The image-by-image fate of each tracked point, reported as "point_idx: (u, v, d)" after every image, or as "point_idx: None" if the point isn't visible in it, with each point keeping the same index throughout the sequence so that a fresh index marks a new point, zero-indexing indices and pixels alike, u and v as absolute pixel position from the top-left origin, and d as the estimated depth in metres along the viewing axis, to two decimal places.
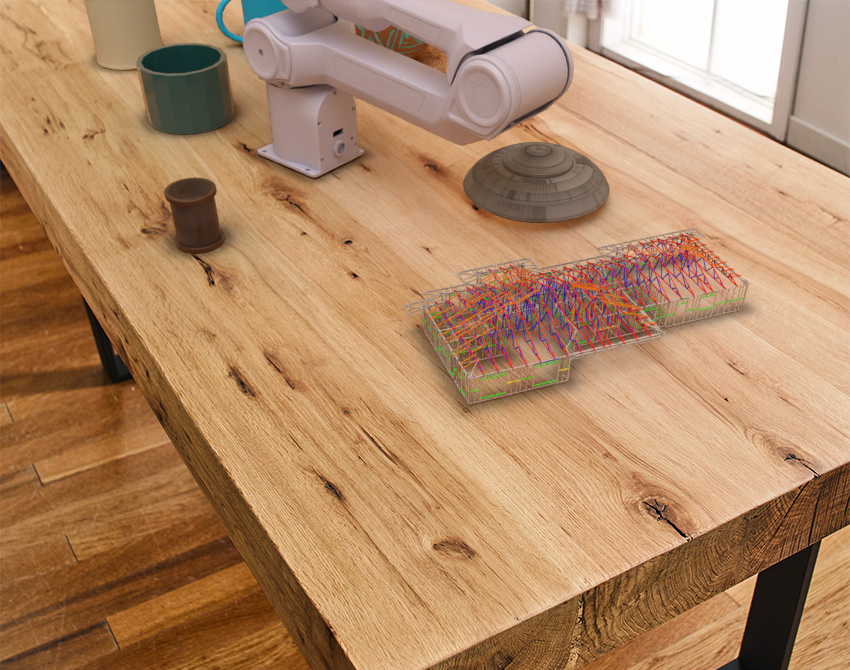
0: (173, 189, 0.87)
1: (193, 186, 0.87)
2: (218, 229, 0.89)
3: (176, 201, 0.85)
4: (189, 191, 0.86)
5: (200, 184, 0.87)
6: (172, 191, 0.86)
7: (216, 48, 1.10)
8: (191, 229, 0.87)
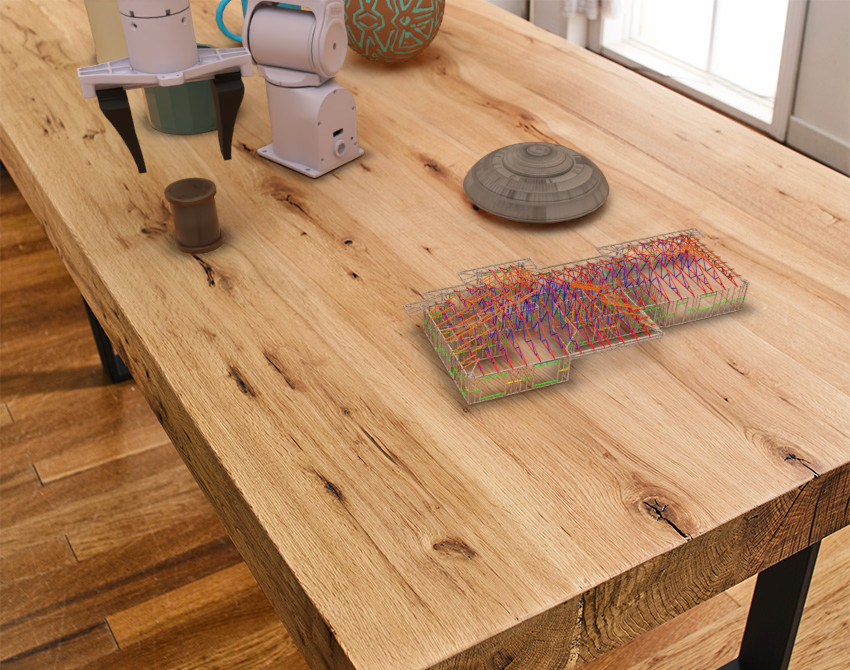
0: (173, 189, 0.87)
1: (193, 186, 0.87)
2: (218, 229, 0.89)
3: (176, 201, 0.85)
4: (189, 191, 0.86)
5: (200, 184, 0.87)
6: (172, 191, 0.86)
7: None
8: (191, 229, 0.87)
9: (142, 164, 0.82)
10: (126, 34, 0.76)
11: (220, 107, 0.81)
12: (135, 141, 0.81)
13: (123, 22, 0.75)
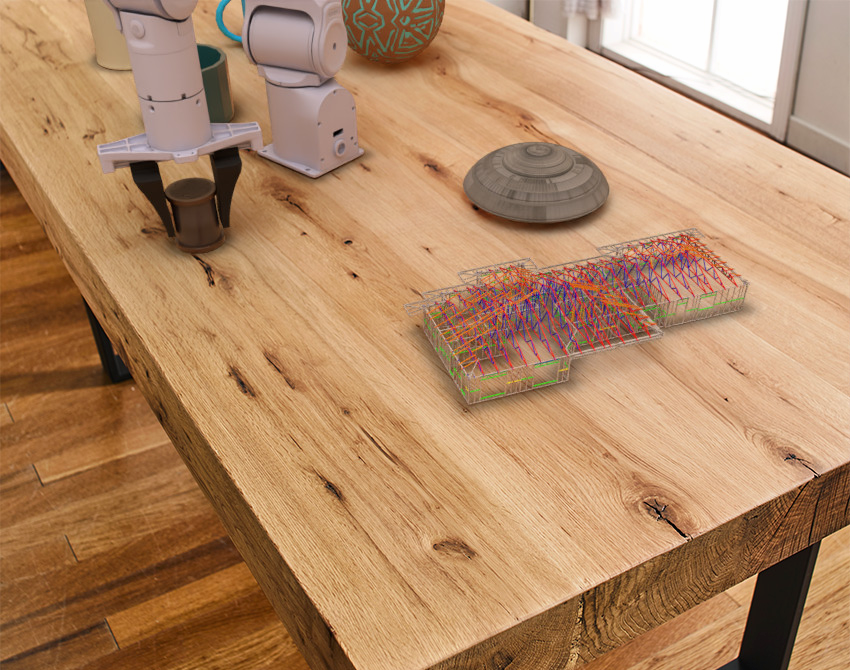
0: (174, 189, 0.87)
1: (193, 186, 0.87)
2: (218, 229, 0.89)
3: (176, 201, 0.85)
4: (189, 191, 0.86)
5: (200, 184, 0.87)
6: (172, 191, 0.86)
7: (216, 48, 1.10)
8: (192, 229, 0.87)
9: (172, 229, 0.87)
10: (144, 115, 0.80)
11: (219, 181, 0.85)
12: (166, 209, 0.86)
13: (141, 104, 0.80)
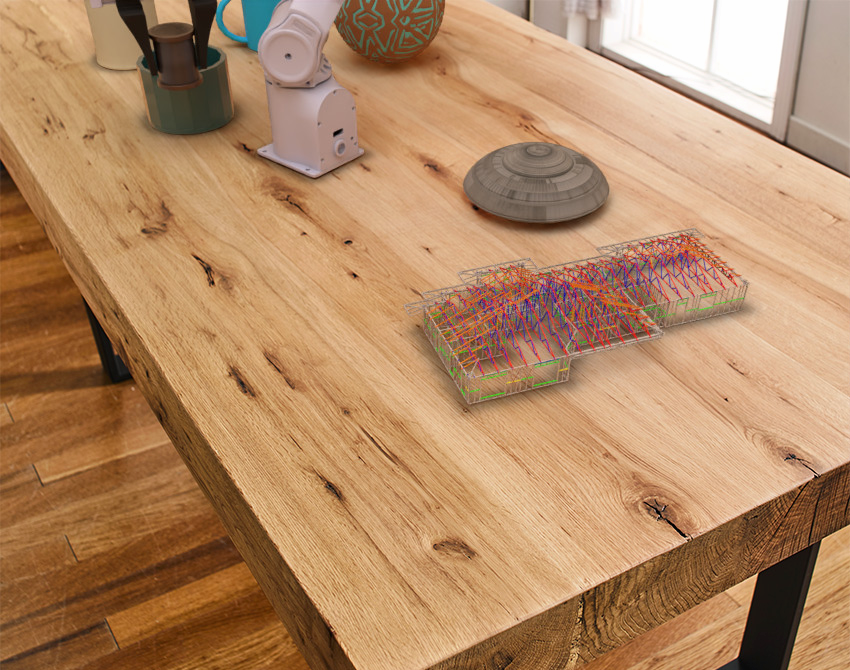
0: (156, 30, 0.96)
1: (173, 27, 0.96)
2: (197, 70, 0.99)
3: (158, 38, 0.94)
4: (170, 31, 0.96)
5: (180, 26, 0.97)
6: (154, 31, 0.96)
7: (216, 48, 1.10)
8: (173, 67, 0.96)
9: (154, 67, 0.97)
10: None
11: (196, 19, 0.94)
12: (149, 46, 0.95)
13: None
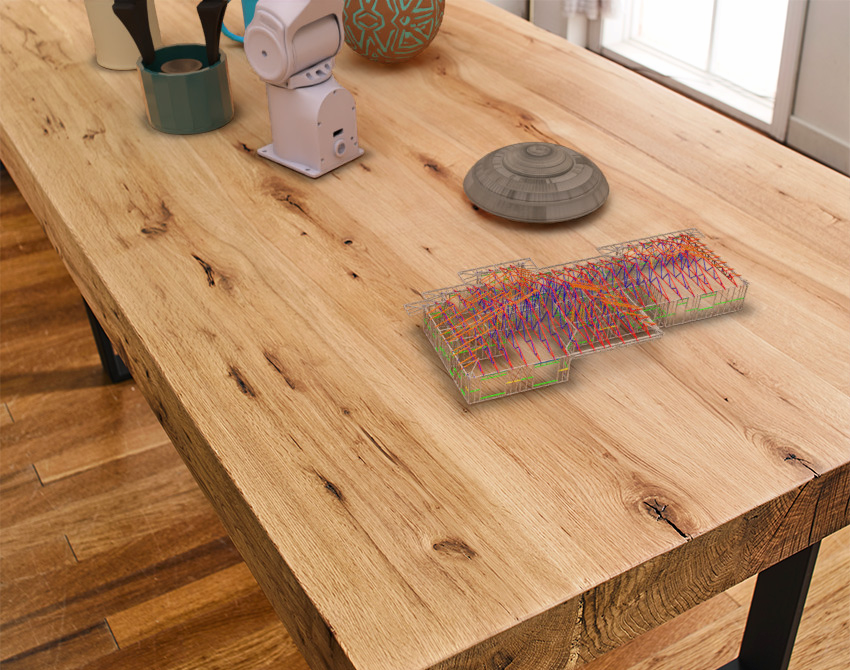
0: (170, 64, 1.09)
1: (185, 64, 1.09)
2: None
3: (164, 72, 1.07)
4: (179, 67, 1.08)
5: (191, 64, 1.09)
6: (168, 65, 1.08)
7: None
8: None
9: (146, 57, 1.07)
10: None
11: (201, 20, 1.02)
12: (139, 37, 1.05)
13: None
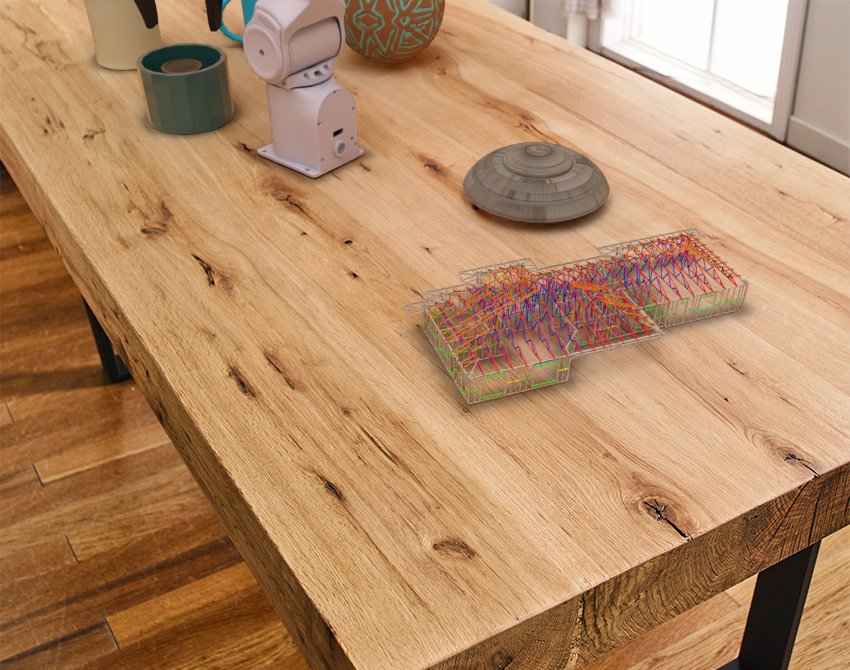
0: (170, 64, 1.09)
1: (185, 64, 1.09)
2: None
3: (164, 72, 1.07)
4: (179, 67, 1.08)
5: (191, 64, 1.09)
6: (167, 65, 1.08)
7: (216, 48, 1.10)
8: None
9: (147, 21, 1.05)
10: None
11: None
12: (140, 0, 1.04)
13: None
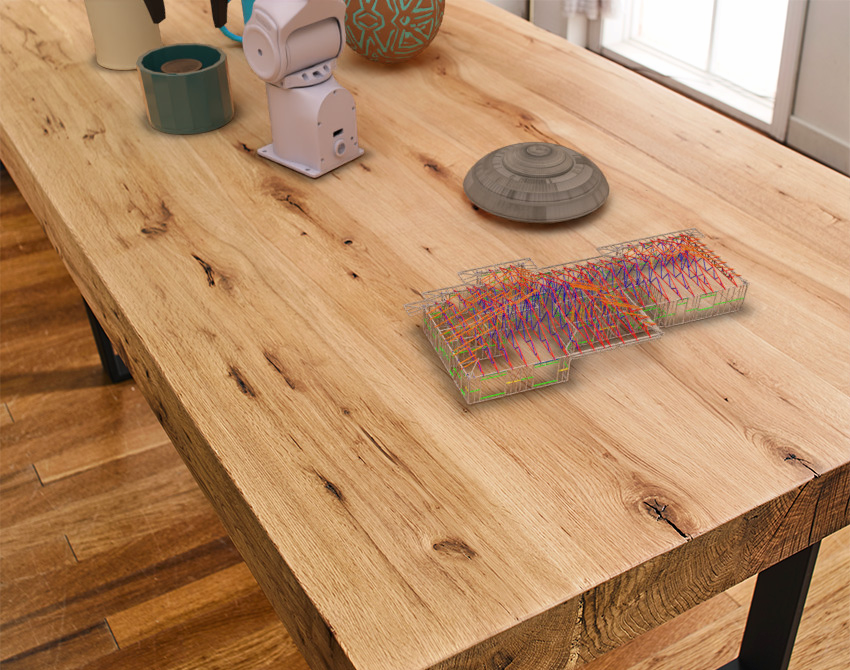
0: (170, 64, 1.09)
1: (185, 64, 1.09)
2: None
3: (164, 72, 1.07)
4: (179, 67, 1.08)
5: (191, 64, 1.09)
6: (167, 65, 1.08)
7: (216, 48, 1.10)
8: None
9: (154, 16, 1.06)
10: None
11: None
12: None
13: None
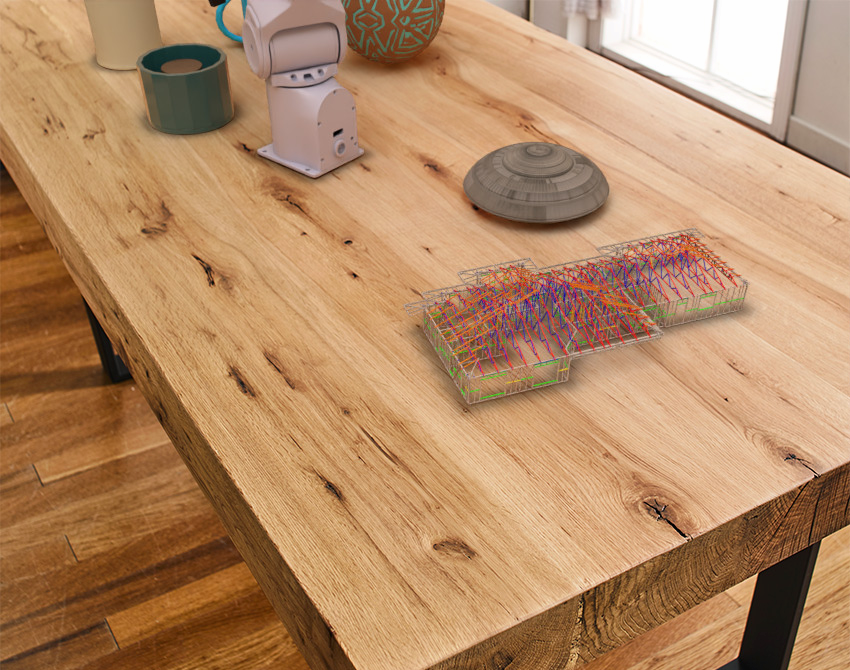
0: (170, 64, 1.09)
1: (185, 64, 1.09)
2: None
3: (164, 72, 1.07)
4: (179, 67, 1.08)
5: (191, 64, 1.09)
6: (167, 65, 1.08)
7: (216, 48, 1.10)
8: None
9: None
10: None
11: None
12: None
13: None
